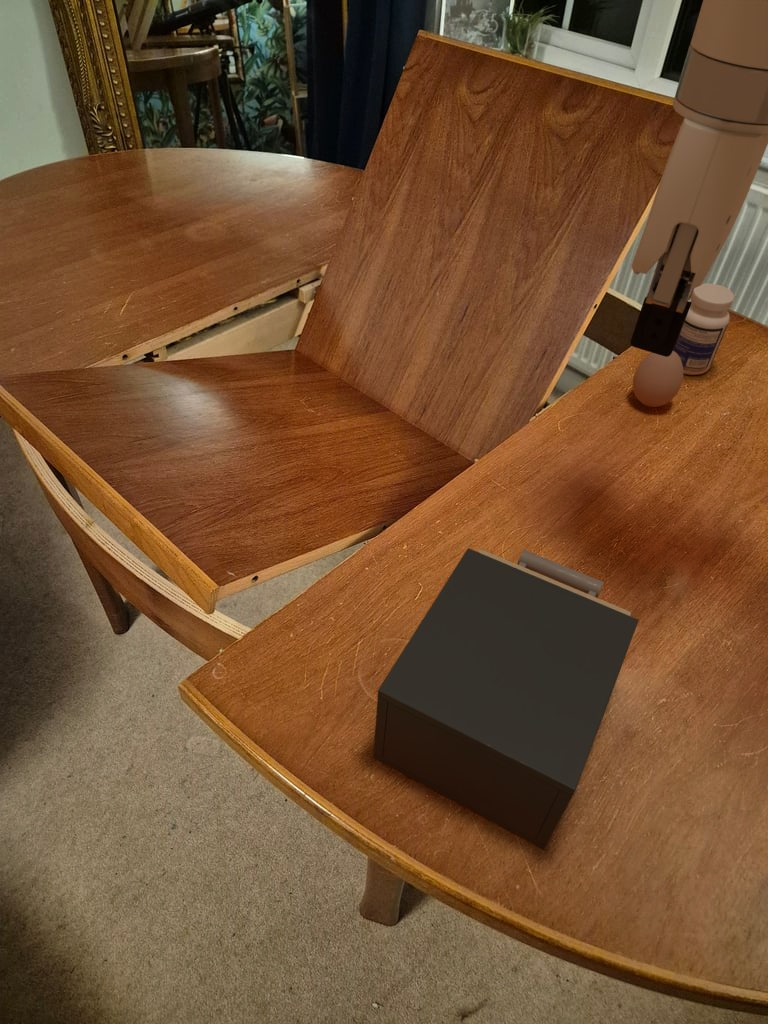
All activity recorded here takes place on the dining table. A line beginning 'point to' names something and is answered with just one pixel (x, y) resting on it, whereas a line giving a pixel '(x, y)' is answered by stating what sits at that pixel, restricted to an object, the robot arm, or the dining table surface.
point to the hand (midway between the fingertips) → (652, 346)
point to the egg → (658, 379)
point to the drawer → (559, 576)
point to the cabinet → (502, 694)
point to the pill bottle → (703, 327)
